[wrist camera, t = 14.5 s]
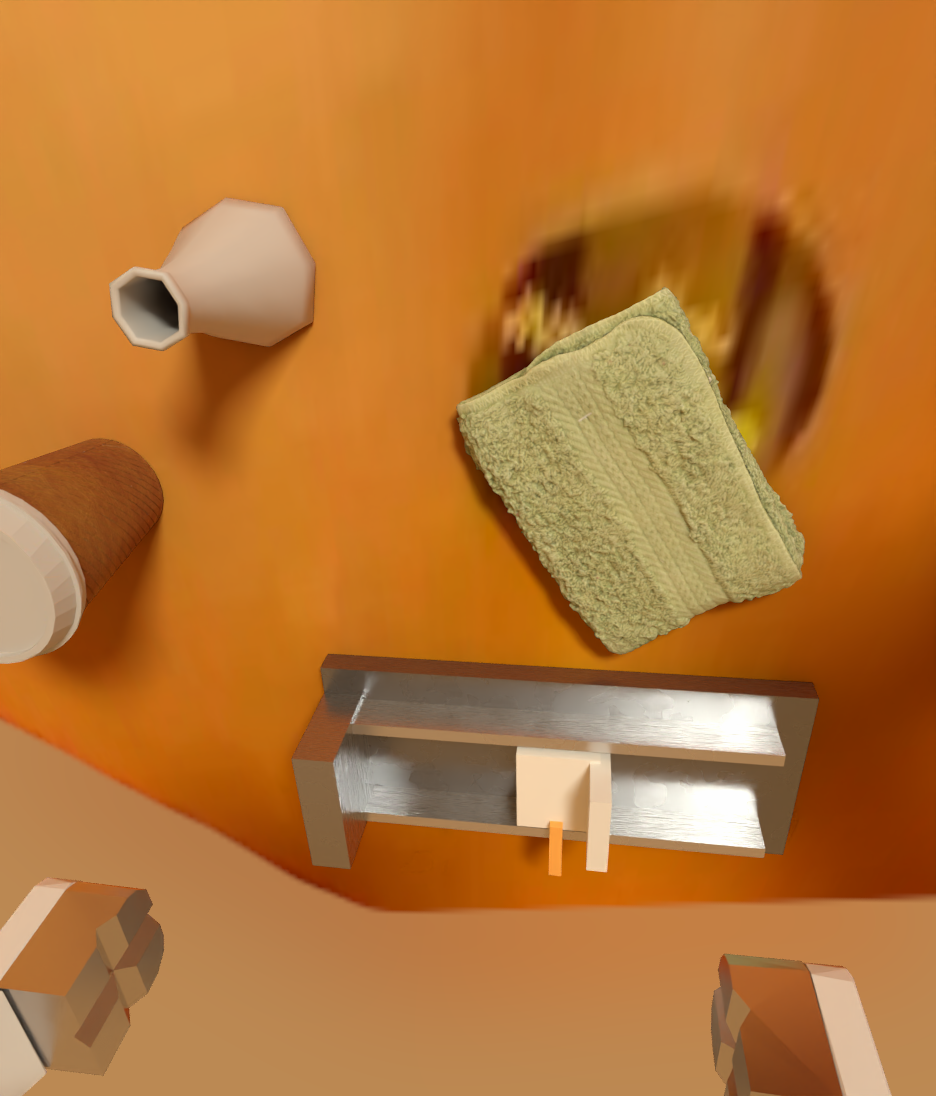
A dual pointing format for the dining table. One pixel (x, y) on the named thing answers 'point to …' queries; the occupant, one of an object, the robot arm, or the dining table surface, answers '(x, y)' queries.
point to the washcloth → (633, 477)
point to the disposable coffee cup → (67, 538)
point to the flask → (221, 281)
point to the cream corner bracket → (566, 799)
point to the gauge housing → (553, 723)
